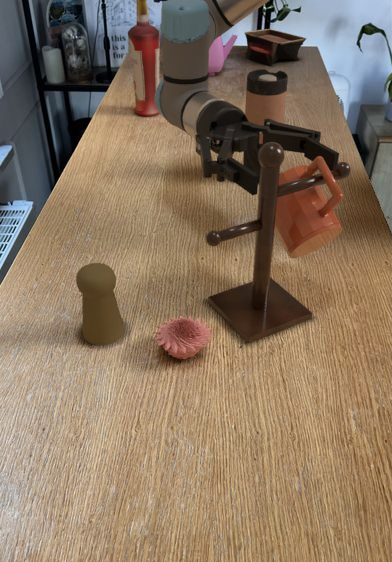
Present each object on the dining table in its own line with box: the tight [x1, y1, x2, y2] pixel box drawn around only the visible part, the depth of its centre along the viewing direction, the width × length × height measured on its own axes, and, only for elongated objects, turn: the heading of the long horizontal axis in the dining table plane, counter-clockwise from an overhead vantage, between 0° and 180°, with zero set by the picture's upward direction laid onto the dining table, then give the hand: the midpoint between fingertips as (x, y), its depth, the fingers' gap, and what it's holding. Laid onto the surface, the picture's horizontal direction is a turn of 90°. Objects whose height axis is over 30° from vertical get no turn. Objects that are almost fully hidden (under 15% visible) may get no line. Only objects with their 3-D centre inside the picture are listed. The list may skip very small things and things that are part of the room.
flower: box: [152, 314, 214, 360], centre depth 78 cm, size 8×8×6 cm
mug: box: [257, 156, 344, 259], centre depth 81 cm, size 13×8×10 cm
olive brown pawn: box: [75, 262, 125, 346], centre depth 80 cm, size 6×6×11 cm
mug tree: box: [205, 142, 352, 344], centre depth 79 cm, size 22×11×26 cm, turn 120°
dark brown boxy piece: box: [244, 28, 307, 66], centre depth 180 cm, size 14×18×10 cm
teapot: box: [208, 34, 239, 77], centre depth 170 cm, size 20×12×13 cm, turn 86°
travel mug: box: [242, 68, 289, 185], centre depth 114 cm, size 8×8×20 cm
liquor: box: [127, 0, 160, 117], centre depth 139 cm, size 7×7×28 cm
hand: (297, 174), depth 80 cm, fingers open, 13 cm apart
